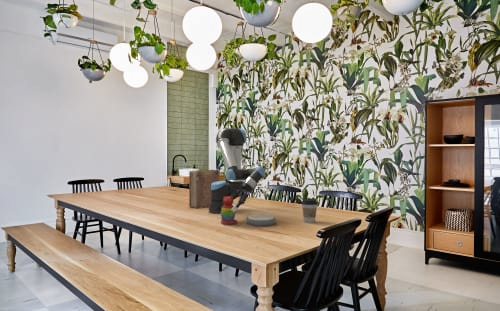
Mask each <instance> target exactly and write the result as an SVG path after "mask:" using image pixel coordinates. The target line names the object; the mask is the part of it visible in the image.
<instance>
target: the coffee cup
mask: <svg viewBox="0 0 500 311" xmlns="http://www.w3.org/2000/svg"><path fill="white" fill-rule="evenodd" d="M300 202H301V203H300V204H301V206H302V216H303V218H302V219H303V222H304V223H308V224H312V223H315V222H316V217H317V209H318V205H319V203H318V201H317V199H315V198H303V199H302V201H300Z"/></svg>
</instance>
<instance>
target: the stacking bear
mask: <svg viewBox="0 0 500 311" xmlns="http://www.w3.org/2000/svg"><path fill="white" fill-rule="evenodd" d="M223 198H224V200H223V203H224V205H223V207H222V211H221V213H220V217H221V222H220V224H221V225H227V226H228V225H229V226H231V225H235V224H238V222H239V221H238V220H237V219H235V217H236V211H235V212H233V211H232V210H231V209H232V208H233V207H234V206H235V205H233V204H234V200H233V197H225V196H224V197H223Z"/></svg>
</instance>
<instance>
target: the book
mask: <svg viewBox="0 0 500 311" xmlns="http://www.w3.org/2000/svg"><path fill="white" fill-rule="evenodd" d="M188 174H189V175H188V176H189V178H188V179H189V181H188V182H189V185H188V188H189V191H188V192H189V193H188V195H189V197H188V198H189V199H188V203H189V204H188V207H189V208H196V209H202V208H201V207H203V208H207V206H208V207H210V203H211V184H212V183H214V182H218V181H220V170H218V169H205V170H204V169H203V170H190V171H189V172H188Z"/></svg>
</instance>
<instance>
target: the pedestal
mask: <svg viewBox="0 0 500 311" xmlns="http://www.w3.org/2000/svg"><path fill="white" fill-rule="evenodd" d="M246 224H247V225H249V226H251V227H270V226H272V227H273V226H274V225H276V217H275V216H273V215H268V214H251V215H248V216H246Z"/></svg>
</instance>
